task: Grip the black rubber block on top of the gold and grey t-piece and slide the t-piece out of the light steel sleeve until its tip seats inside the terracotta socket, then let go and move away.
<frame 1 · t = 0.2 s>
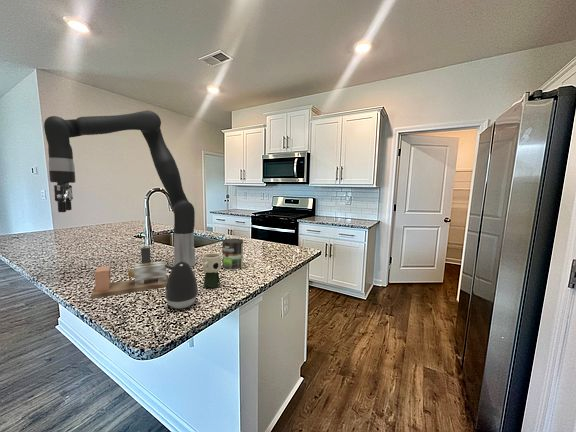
hand: (65, 211, 99), 29 cm above the counter, tool pointing down, fingers open, 8 cm apart
character mug: (211, 286, 101), on the counter
socket block: (103, 292, 92), resting on sleeve stand
dark grey egg-shaped piece: (181, 305, 84), on the counter
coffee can: (232, 268, 125), on the counter
gold and grey t-piece: (147, 261, 98), point 10 cm above the counter, slide at 0.0 cm
sleeve stand: (133, 287, 97), on the counter
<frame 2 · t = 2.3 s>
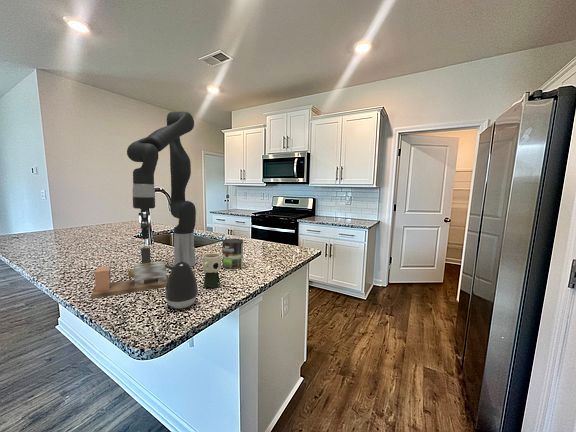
hand: (145, 236, 97), 20 cm above the counter, tool pointing down, fingers open, 8 cm apart
nothing on the counter moved.
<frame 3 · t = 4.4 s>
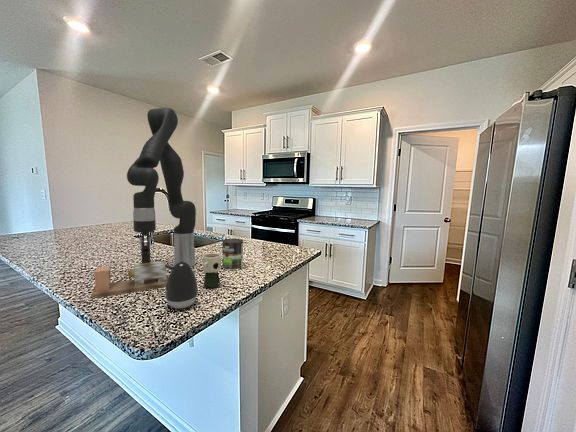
hand: (146, 261, 98), 10 cm above the counter, tool pointing down, fingers closed on gold and grey t-piece, 2 cm apart
gold and grey t-piece: (147, 261, 98), point 10 cm above the counter, slide at 0.0 cm, touching gripper
everything else where it was.
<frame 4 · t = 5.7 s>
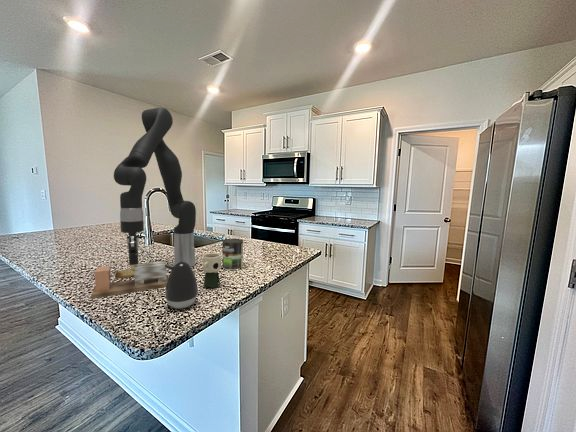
hand: (133, 263, 96), 10 cm above the counter, tool pointing down, fingers closed on gold and grey t-piece, 2 cm apart
gold and grey t-piece: (135, 262, 96), point 10 cm above the counter, slide at 4.1 cm, touching gripper
everything else where it was.
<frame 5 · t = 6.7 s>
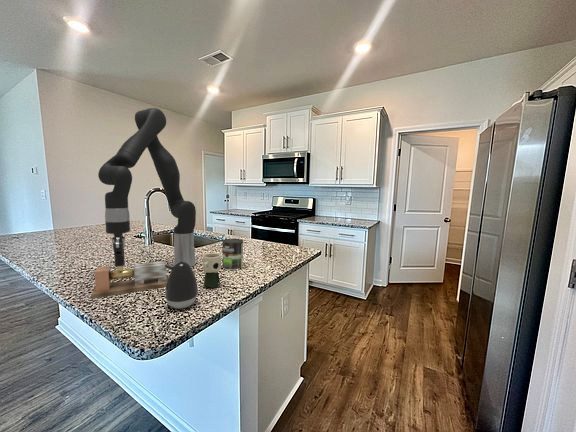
hand: (119, 264, 94), 10 cm above the counter, tool pointing down, fingers closed on gold and grey t-piece, 2 cm apart
gold and grey t-piece: (121, 264, 94), point 10 cm above the counter, slide at 8.7 cm, touching gripper
everything else where it was.
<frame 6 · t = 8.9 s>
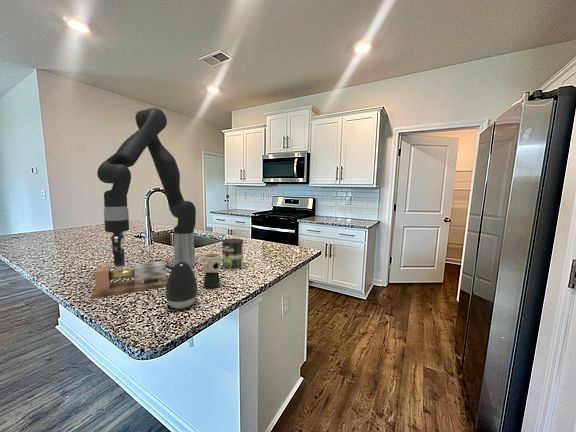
hand: (118, 260, 93), 11 cm above the counter, tool pointing down, fingers open, 8 cm apart
gold and grey t-piece: (121, 264, 94), point 10 cm above the counter, slide at 8.6 cm
everything else where it was.
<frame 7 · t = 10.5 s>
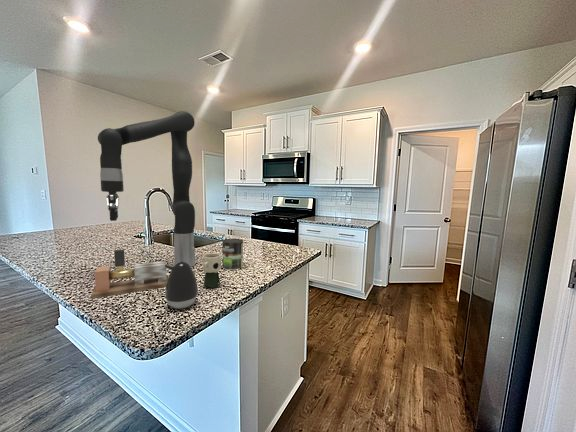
hand: (114, 219, 102), 26 cm above the counter, tool pointing down, fingers open, 8 cm apart
nothing on the counter moved.
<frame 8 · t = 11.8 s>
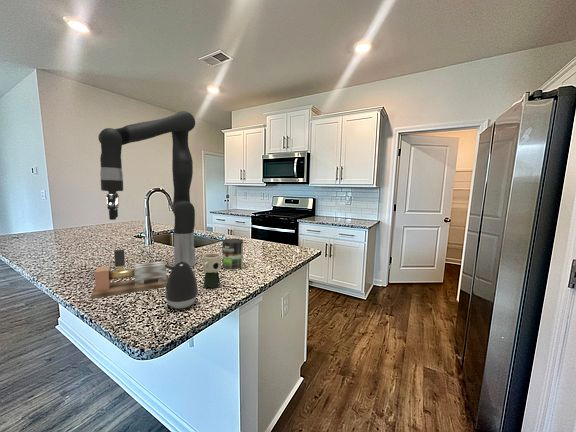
hand: (113, 218, 103), 26 cm above the counter, tool pointing down, fingers open, 8 cm apart
nothing on the counter moved.
at the end: gold and grey t-piece slide at 8.6 cm; the gripper is holding nothing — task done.
